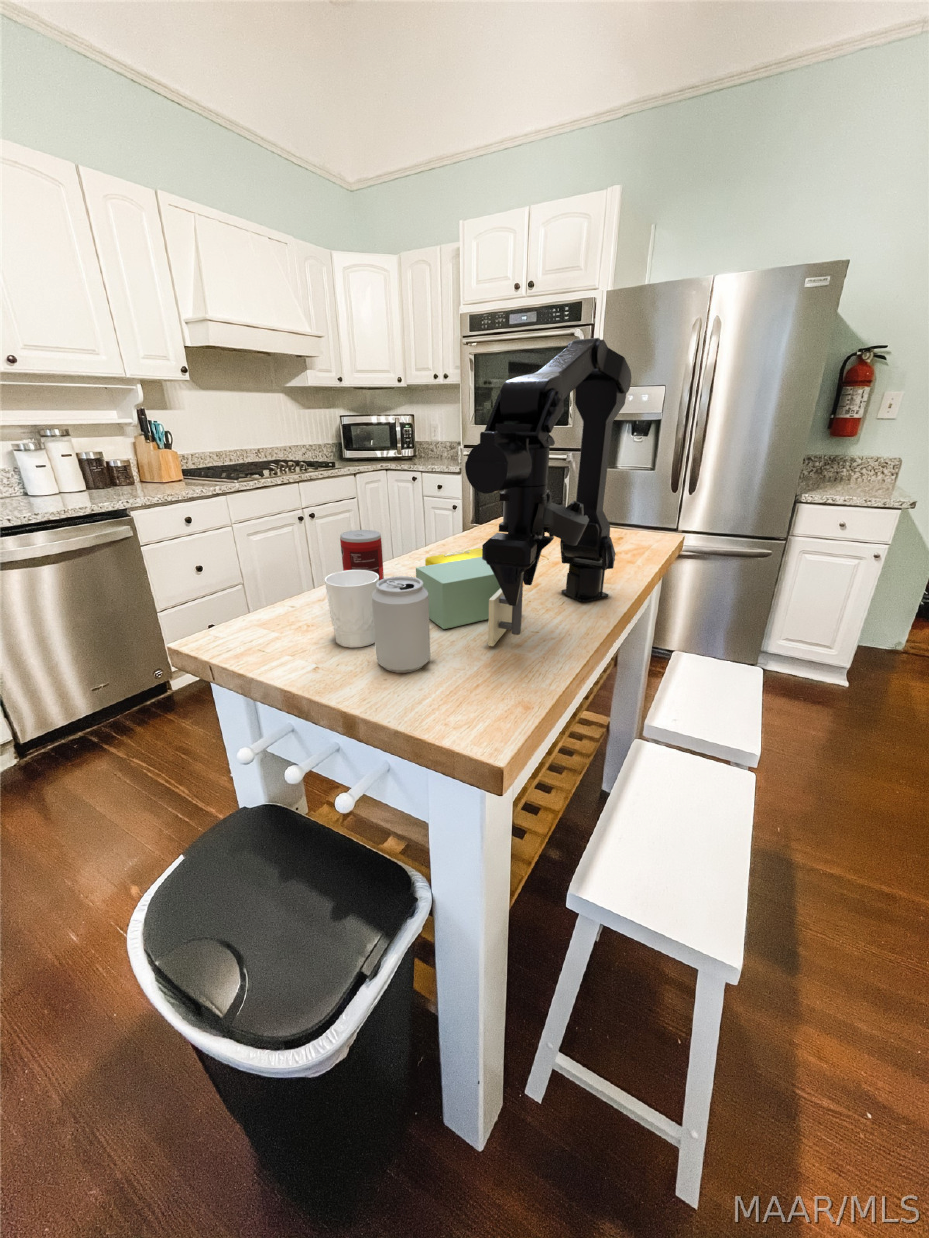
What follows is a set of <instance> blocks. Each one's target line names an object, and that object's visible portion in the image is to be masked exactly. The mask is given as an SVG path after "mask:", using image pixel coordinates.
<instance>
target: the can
mask: <svg viewBox="0 0 929 1238" xmlns="http://www.w3.org/2000/svg"><path fill="white" fill-rule="evenodd" d="M376 588H377V589H376V590H375V591H374V592H373V594H372V606H373V619H374V632H375V642H374V643H375V656H376V661H377V664H378V665H380V666H381V667H382V668H384V669H385V670H387V671H389V672H392V673H397V674H400V673H401V674H406V673H412V672H415V671H418V670H420V669H421V668H423V667H424V666H425V665H426V664H427V663H428V662H429V661H430V660H431V636H430V635H431V633H430V632H431V631H430V619H429V596H428V592H427V590H426V589H425V588H424V587H423V582H422V580H420V579H418V578H416V576H408V575H397V576H389V577H384V579H382V580H380V581H378V582H377V583H376Z"/></svg>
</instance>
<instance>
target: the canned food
mask: <svg viewBox="0 0 929 1238" xmlns="http://www.w3.org/2000/svg"><path fill="white" fill-rule="evenodd" d="M339 537H340V538H339V541H340V552H341V562H342V571H346V570H367V571H372V572H375V573H377V574H378V575H379V581H380V580H382V579H385V577H384V576H385V575H384V573H385V572H384V557H383V543H382V534H381V532H380V531H376V530H372V529H353V530H347V531H344V532H342V533H341V534H340V535H339Z"/></svg>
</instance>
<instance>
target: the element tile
mask: <svg viewBox="0 0 929 1238" xmlns="http://www.w3.org/2000/svg"><path fill="white" fill-rule="evenodd" d="M477 557H482V548H480V547H478V548H471V549H470V548H469V549H466V550H459V551H453V552H452V551H451V552H447V553H443V554H437V555H430V556H427V557H426V558H425V559H424V566H428V565H434V564H440V563H446V562H453V561H459V560H465V559H471V558H477Z"/></svg>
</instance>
